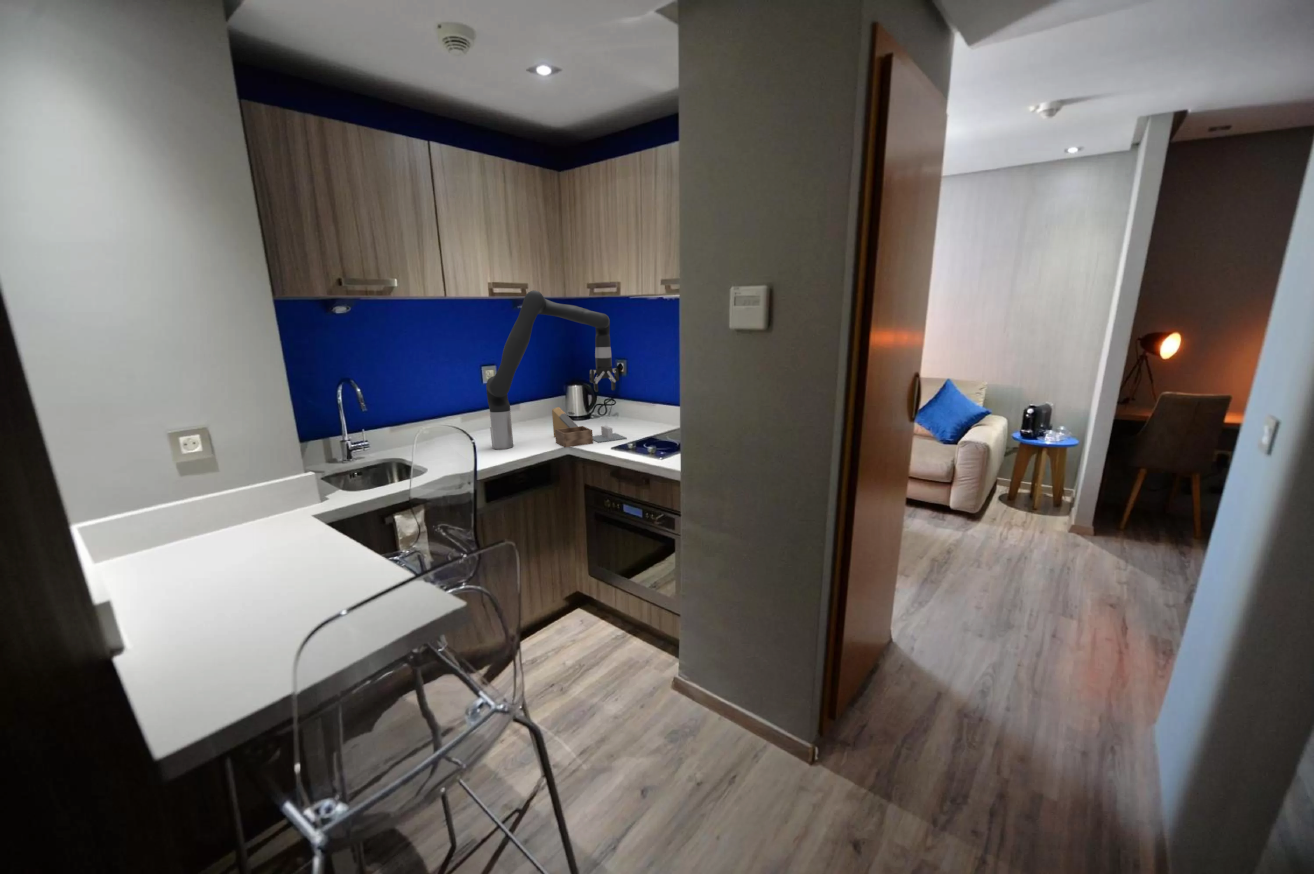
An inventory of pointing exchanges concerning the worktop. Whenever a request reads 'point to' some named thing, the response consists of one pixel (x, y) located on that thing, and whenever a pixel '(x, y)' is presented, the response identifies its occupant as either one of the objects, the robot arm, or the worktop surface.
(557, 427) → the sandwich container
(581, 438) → the box
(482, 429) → the worktop surface
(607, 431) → the lid
